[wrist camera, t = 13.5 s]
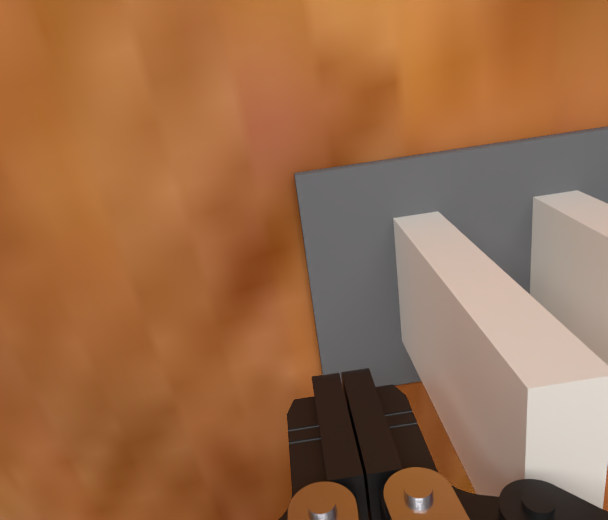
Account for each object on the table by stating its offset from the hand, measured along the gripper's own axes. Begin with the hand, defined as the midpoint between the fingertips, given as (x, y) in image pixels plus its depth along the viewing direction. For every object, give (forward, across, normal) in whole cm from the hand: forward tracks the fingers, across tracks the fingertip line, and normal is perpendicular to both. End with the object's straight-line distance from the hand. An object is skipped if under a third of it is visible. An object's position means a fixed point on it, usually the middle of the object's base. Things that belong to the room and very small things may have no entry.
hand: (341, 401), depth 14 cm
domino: (+6, -4, 0) cm, 7 cm away
